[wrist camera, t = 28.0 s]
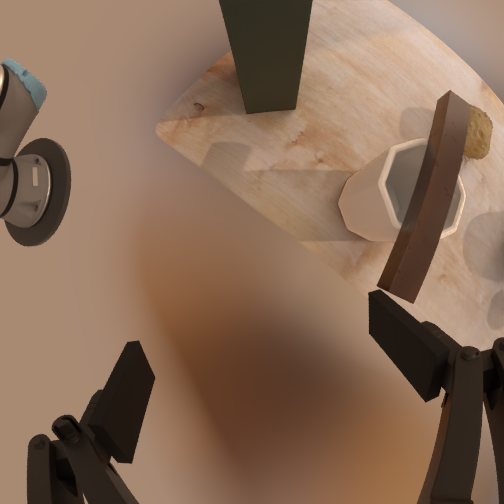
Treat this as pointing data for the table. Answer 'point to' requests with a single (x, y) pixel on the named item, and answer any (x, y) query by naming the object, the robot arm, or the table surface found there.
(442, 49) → the table surface
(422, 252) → the rod
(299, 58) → the stand
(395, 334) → the robot arm
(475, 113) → the cut tuber
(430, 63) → the table surface
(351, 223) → the cup
